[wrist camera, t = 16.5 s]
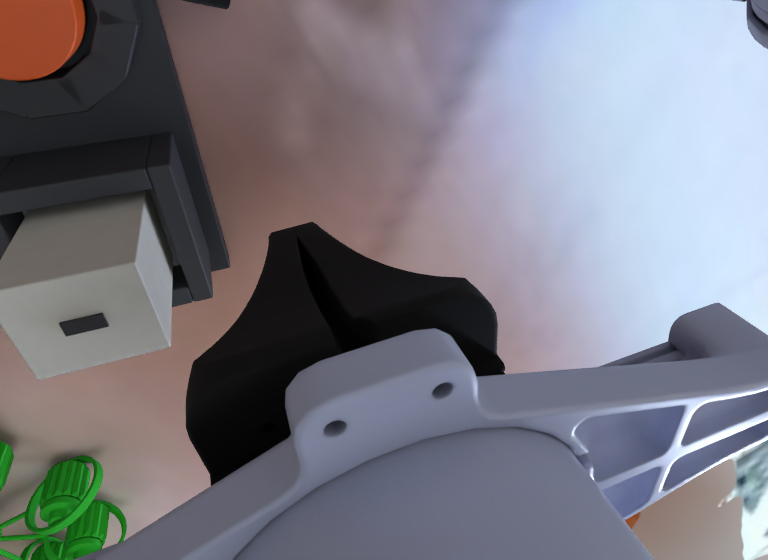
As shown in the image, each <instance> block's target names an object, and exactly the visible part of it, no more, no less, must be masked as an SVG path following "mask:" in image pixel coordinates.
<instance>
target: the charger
mask: <svg viewBox="0 0 768 560" xmlns="http://www.w3.org/2000/svg"><path fill="white" fill-rule="evenodd" d="M172 282H173V255H172V252H171V249H170V247H169V244H168V241H167V238H166V236H165V233H164V230H163V227H162V225H161V222H160V219H159V216H158V214H157V211H156V208H155V205H154V203H153V200H152V197H151V194H150V192H149V189H147V190H142V191H136V192H130V193H125V194H119V195H114V196H108V197H102V198H97V199H91V200H85V201H80V202H74V203H68V204H63V205H57V206H52V207H46V208H40V209H35V210H29V211H28V213H27V214H26V216H25V218H24V220H23V221H22V223H21V225H20V227H19V228H18V230H17V232H16V234H15V235H14V237H13V239H12V241H11V242H10V244H9V246H8V247H7V249H6V251H5V253H4V254H3V256H2V258H1V260H0V325H1V326H2V327H3V329H4V330H5V332H6V333H7V335H8V336H9V338H10V339H11V341H12V342H13V344H14V345H15V347H16V348H17V350H18V351H19V353H20V354H21V356H22V357H23V359H24V360H25V362H26V363H27V365H28V366H29V368H30V369H31V371H32V372H33V374H34V375H35V377H36V378H37V379H38V380H41V379H45V378H49V377H53V376H57V375H61V374H65V373H68V372H72V371H76V370H80V369H84V368H88V367H92V366H96V365H100V364H104V363H108V362H112V361H116V360H120V359H124V358H128V357H132V356H136V355H140V354H144V353H148V352H152V351H156V350H160V349H164V348H168V347H170V346H171V318H172Z"/></svg>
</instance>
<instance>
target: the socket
mask: <svg viewBox="0 0 768 560" xmlns="http://www.w3.org/2000/svg"><path fill="white" fill-rule="evenodd" d="M147 189H149V192H150V194H151V197H152V200H153V203H154V205H155V208H156V211H157V214H158V216H159V219H160V222H161V225H162V227H163V230H164V233H165V236H166V238H167V241H168V244H169V247H170V249H171V252H172V255H173V282H172V307H174V306H178V305H183V304H187V303H191V302H193V300H194V301H200V300H204V299H208V298H212V297H213V290H212V279H211V267H210V256H209V250H208V247H207V243H206V240H205V237H204V234H203V231H202V227H201V224H200V221H199V218H198V214H197V211H196V208H195V205H194V202H193V198H192V195H191V192H190V189H189V185H188V182H187V179H186V176H185V173H184V169H183V166H182V163H181V160H180V157H179V153H178V150H177V147H176V144H175V140H174V137H173V134H172V132H165V133H158V134H153V135H152V137H151V135H145V136H138V137H132V138H125V139H119V140H112V141H106V142H99V143H93V144H86V145H80V146H73V147H66V148H60V149H53V150H47V151H40V152H34V153H27V154H21V155H17V156H16V157H15V156H8V157H1V158H0V260H1V258H2V256H3V254H4V253H5V251H6V249H7V247H8V246H9V244H10V242H11V241H12V239H13V237H14V235H15V234H16V232H17V230H18V228H19V227H20V225H21V223H22V221H23V220H24V218H25V216H26V214H27V213H28V211H29V210H35V209H40V208H46V207H52V206H57V205H63V204H68V203H74V202H80V201H85V200H91V199H97V198H102V197H108V196H114V195H119V194H125V193H130V192H136V191H142V190H147Z"/></svg>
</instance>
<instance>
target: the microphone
mask: <svg viewBox="0 0 768 560" xmlns="http://www.w3.org/2000/svg"><path fill="white" fill-rule="evenodd" d="M184 1H189V2H193V3H198V4H203V5H208V6H213V7H218V8H223V9H228V8H229V5H230V0H184Z"/></svg>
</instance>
